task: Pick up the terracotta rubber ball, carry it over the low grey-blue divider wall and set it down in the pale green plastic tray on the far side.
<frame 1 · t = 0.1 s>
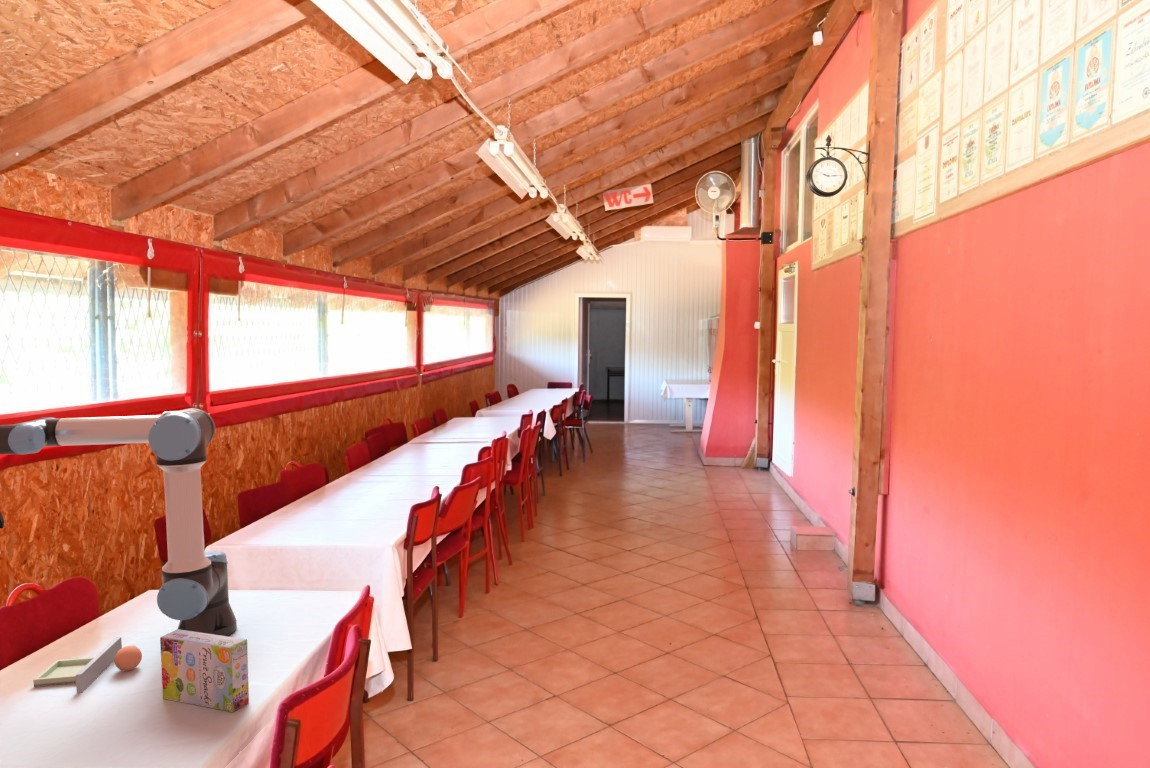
divider wall: (100, 671, 186), on the table
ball: (128, 658, 186), point 3 cm above the table
snack box: (205, 701, 170), on the table
tray: (70, 674, 184), on the table
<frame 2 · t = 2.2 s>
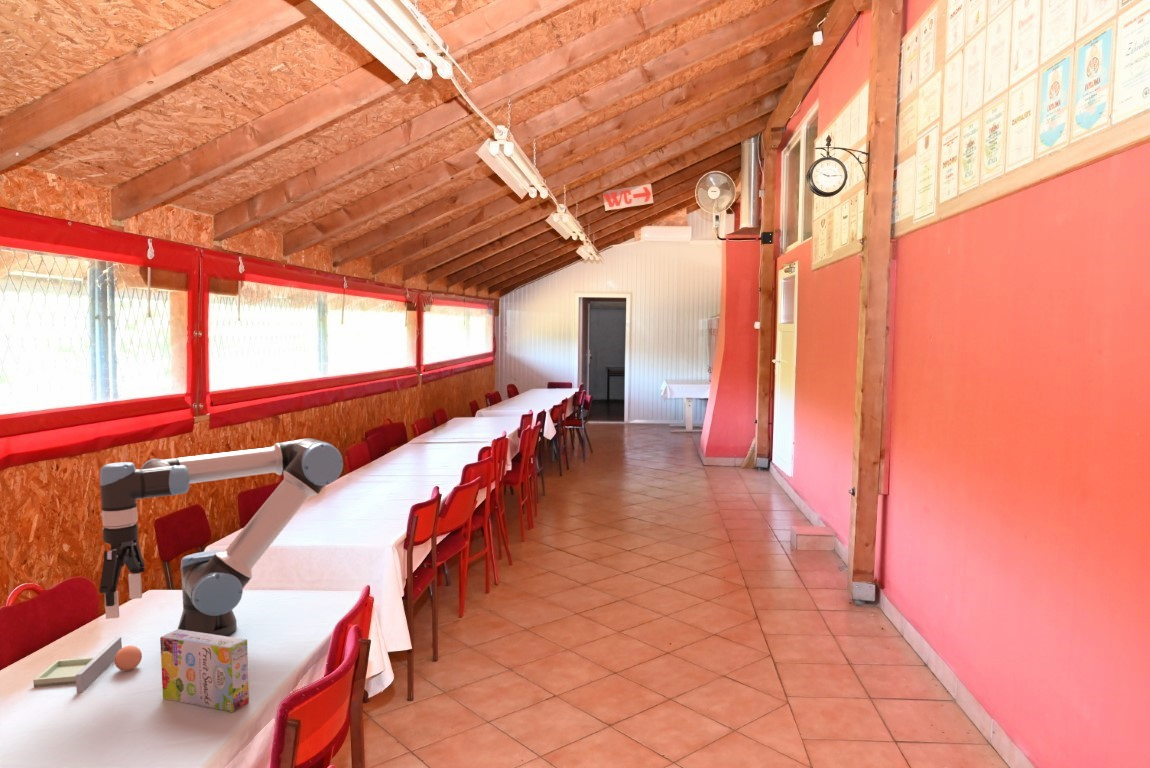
hand: (124, 607, 186), 16 cm above the table, fingers open, 13 cm apart
nothing on the table moved.
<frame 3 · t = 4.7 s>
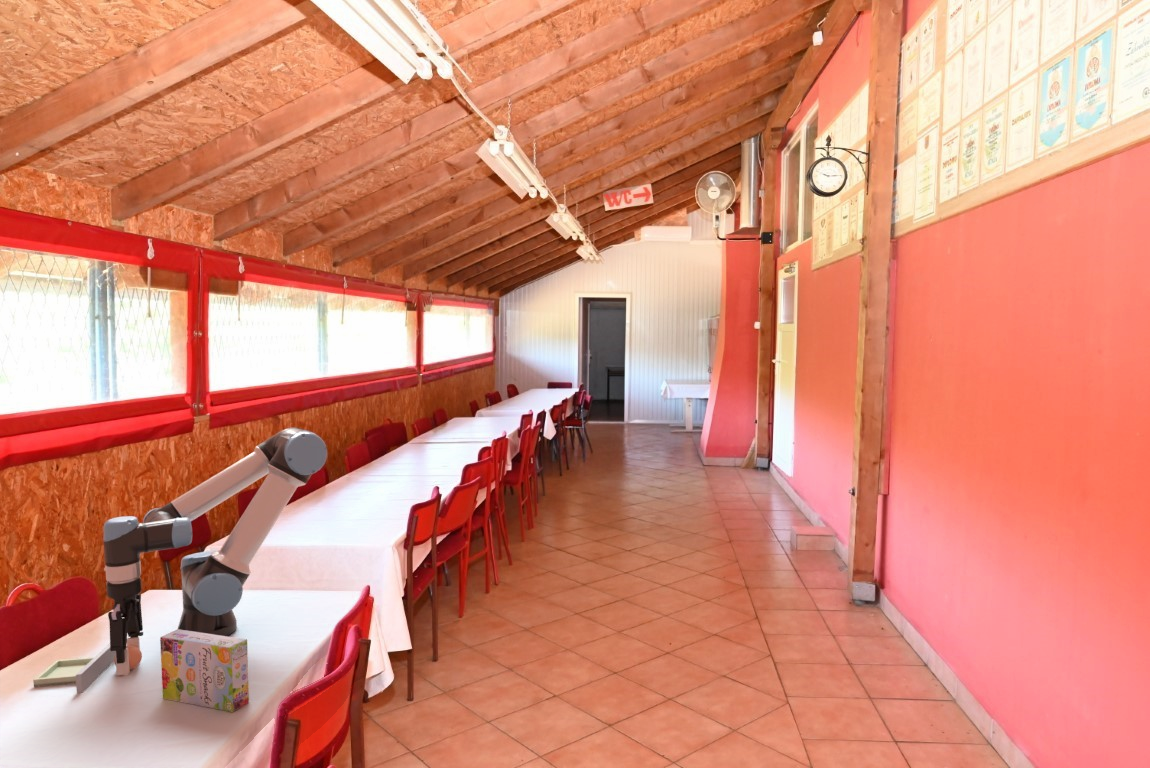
hand: (128, 668, 187), 0 cm above the table, fingers closed on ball, 6 cm apart
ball: (128, 658, 186), point 3 cm above the table, touching gripper
everything else where it was.
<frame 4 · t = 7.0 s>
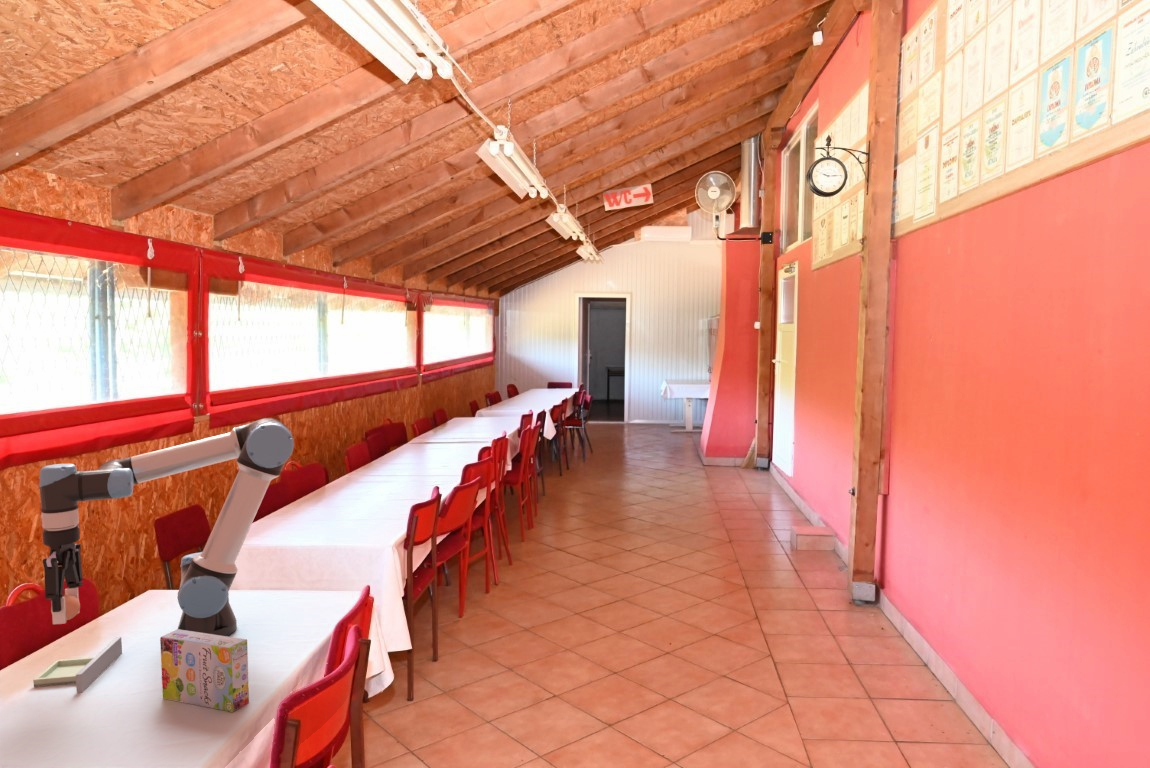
hand: (66, 618, 183), 15 cm above the table, fingers closed on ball, 6 cm apart
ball: (65, 607, 183), point 17 cm above the table, touching gripper
everything else where it was.
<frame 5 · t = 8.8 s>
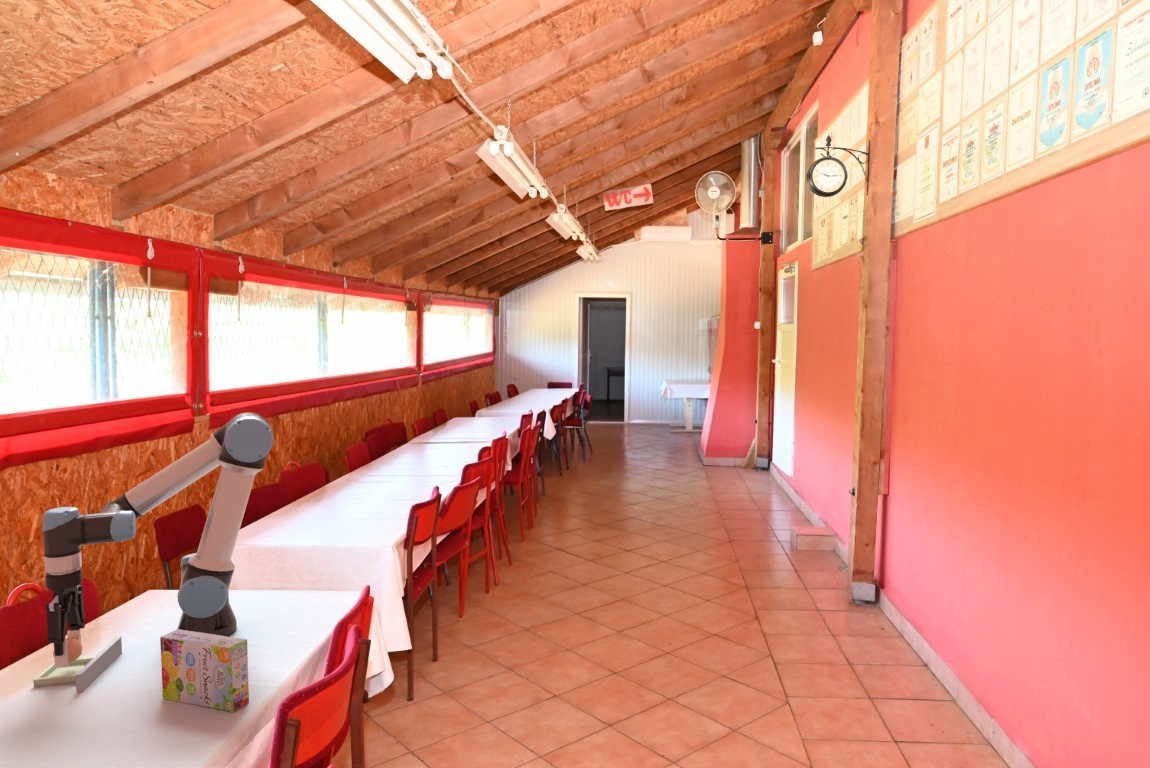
hand: (68, 660, 184), 4 cm above the table, fingers closed on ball, 6 cm apart
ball: (67, 650, 184), point 6 cm above the table, touching gripper
everything else where it was.
when the fingers open (2 cm above the table, at t = 9.8 s): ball drops 1 cm, resting on tray.
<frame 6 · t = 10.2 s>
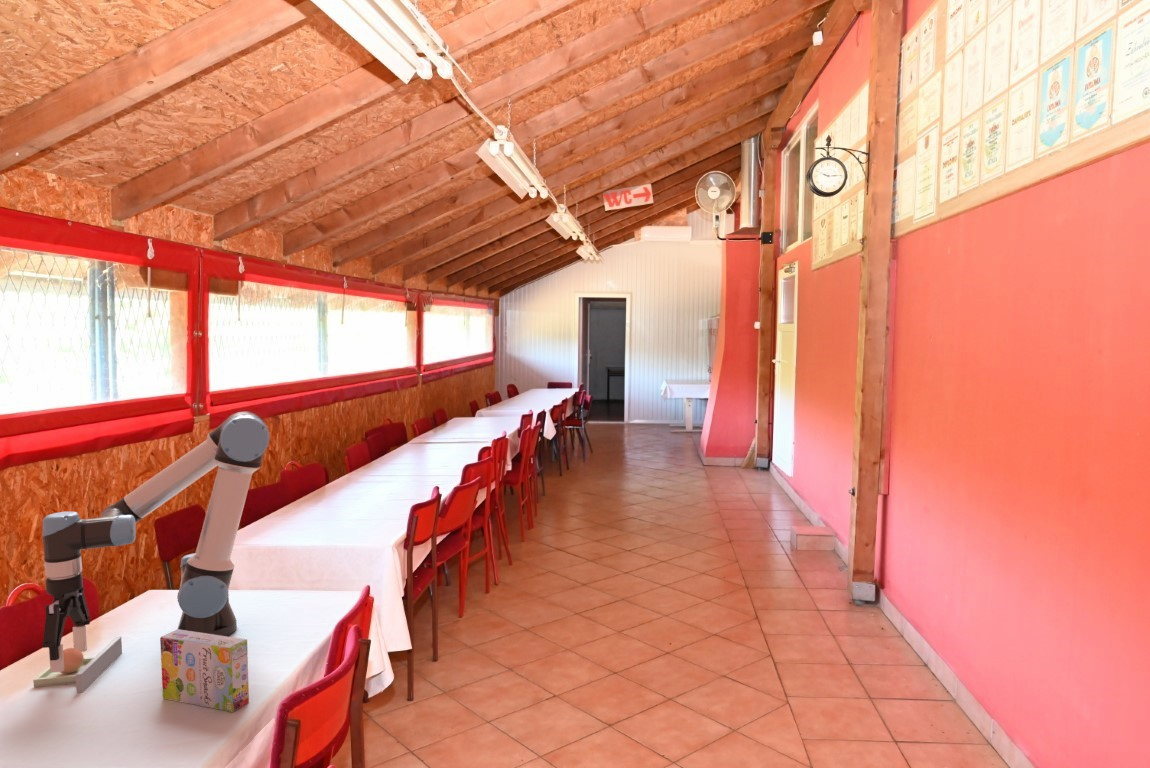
hand: (69, 661, 184), 3 cm above the table, fingers open, 11 cm apart
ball: (69, 660, 184), point 4 cm above the table, touching tray
everything else where it was.
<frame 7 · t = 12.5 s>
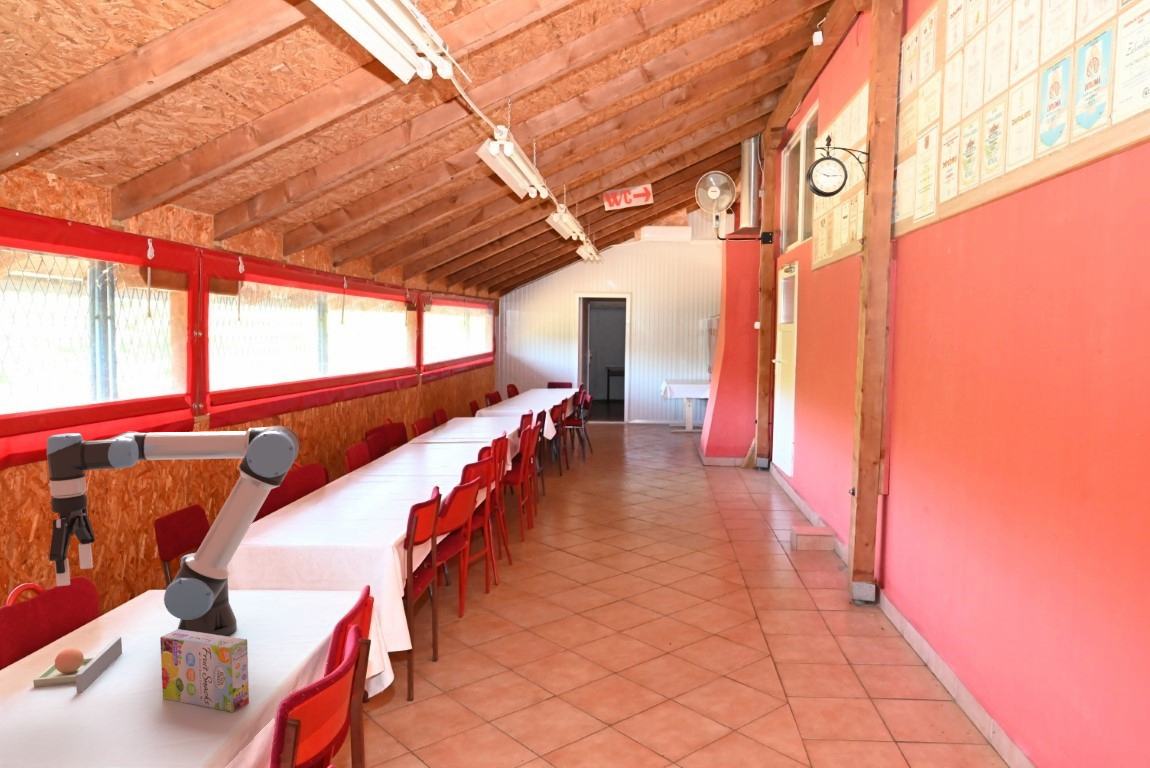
hand: (75, 576, 188), 23 cm above the table, fingers open, 13 cm apart
nothing on the table moved.
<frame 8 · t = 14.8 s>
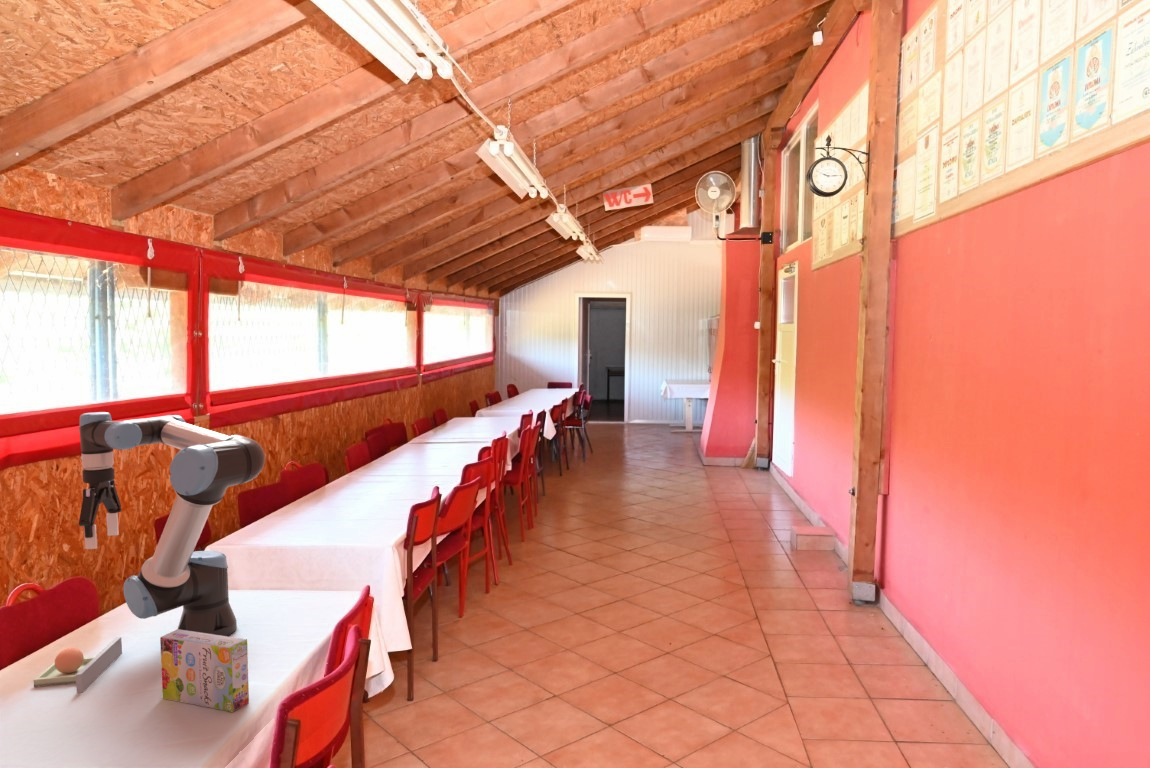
hand: (102, 541, 208), 27 cm above the table, fingers open, 13 cm apart
nothing on the table moved.
at the end: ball 0.1 cm from the tray (horizontally); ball point 3.6 cm above the table; the gripper is holding nothing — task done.
